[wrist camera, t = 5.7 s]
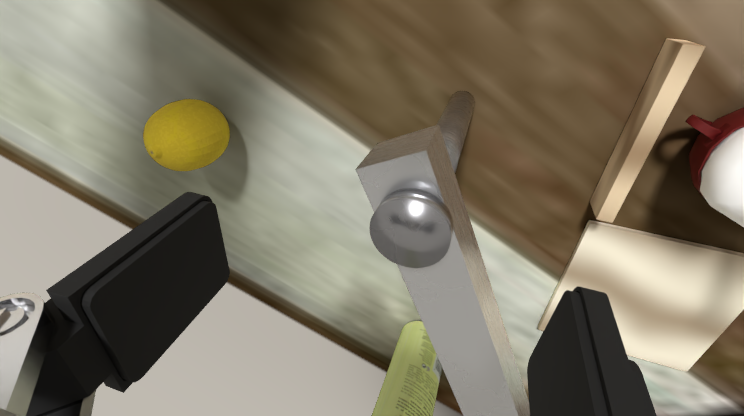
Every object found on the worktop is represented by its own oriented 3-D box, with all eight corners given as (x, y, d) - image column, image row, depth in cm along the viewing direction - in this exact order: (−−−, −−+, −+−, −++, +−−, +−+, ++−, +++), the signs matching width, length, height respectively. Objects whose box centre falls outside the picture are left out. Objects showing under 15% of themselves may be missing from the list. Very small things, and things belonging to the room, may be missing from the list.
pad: (588, 219, 27) (590, 223, 27) (779, 260, 25) (783, 265, 24) (537, 325, 34) (538, 329, 34) (684, 366, 31) (686, 371, 31)
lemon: (257, 140, 33) (196, 178, 27) (215, 154, 36) (149, 192, 29) (227, 80, 31) (153, 106, 25) (184, 99, 34) (106, 127, 27)
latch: (432, 76, 26) (344, 179, 12) (471, 61, 25) (424, 159, 11) (498, 287, 33) (491, 500, 19) (531, 284, 32) (548, 510, 18)
